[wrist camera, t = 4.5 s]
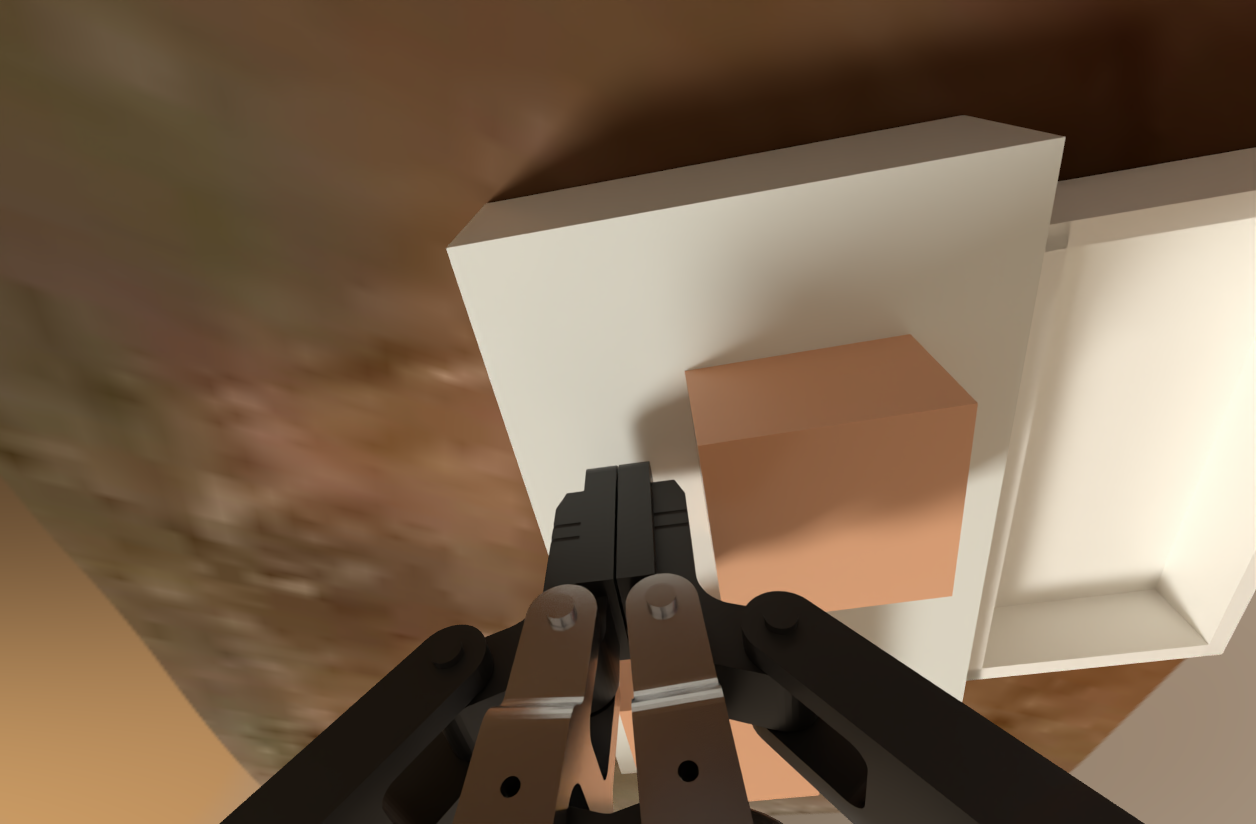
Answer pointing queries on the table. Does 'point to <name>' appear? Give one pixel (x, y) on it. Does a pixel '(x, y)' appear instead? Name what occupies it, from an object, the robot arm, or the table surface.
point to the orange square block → (756, 758)
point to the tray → (1132, 429)
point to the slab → (767, 315)
